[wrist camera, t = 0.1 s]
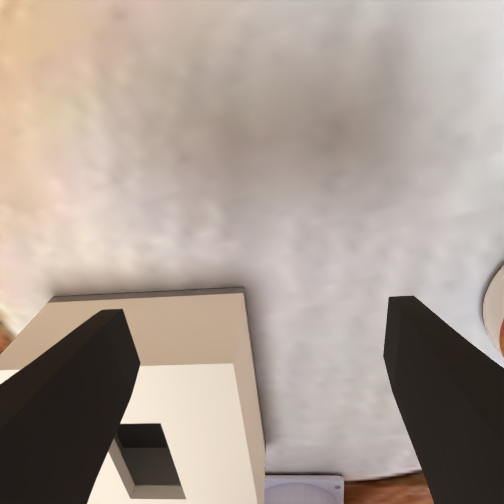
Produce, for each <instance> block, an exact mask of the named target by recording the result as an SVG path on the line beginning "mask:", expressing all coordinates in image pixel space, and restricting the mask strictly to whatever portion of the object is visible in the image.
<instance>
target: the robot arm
mask: <svg viewBox="0 0 504 504" xmlns="http://www.w3.org/2000/svg"><path fill="white" fill-rule="evenodd" d="M383 356H384V360H385V364H386V369H387V373H388V377H389V381H390V384H391V388H392V392H393V395H394V397H395V400H396V403H397V405H398V408H399V411H400V413H401V416H402V419H403V421H404V424H405V426H406V429H407V432H408V434H409V437H410V439H411V442H412V444H413V447H414V450H415V452H416V455H417V457H418V460H419V463H420V465H421V468H422V470H423V473H424V475H425V478H426V481H427V484H428V487H429V489H430V492H431V495H432V498H433V501H434V504H504V368H503V367H501V366H500V365H499V364H497V363H496V362H494V361H493V360H492V359H490V358H489V357H488V356H487V355H485V354H484V353H483V352H481V351H480V350H479V349H477V348H476V347H475V346H474V345H472V344H471V343H470V342H469V341H467V340H466V339H465V338H464V337H462V336H461V335H460V334H459V333H457V332H456V331H455V330H454V329H453V328H451V327H450V326H449V325H448V324H447V323H445V322H444V321H443V320H442V319H441V318H439V317H438V316H437V315H436V314H435V313H433V312H432V311H431V310H430V309H429V308H428V307H426V306H425V305H424V304H423V303H422V302H421V301H419V300H418V299H417V298H416V297H414V296H397V297H389V302H388V312H387V323H386V334H385V344H384V355H383ZM140 363H141V362H140V359H139V356H138V353H137V350H136V347H135V344H134V341H133V338H132V335H131V332H130V329H129V326H128V323H127V320H126V317H125V314H124V311H123V309H105V310H101V311H99V312H98V313H96V314H95V315H93V316H92V317H90V318H89V319H88V320H86V321H85V322H84V323H82V324H81V325H80V326H78V327H77V328H76V329H74V330H73V331H72V332H70V333H69V334H68V335H66V336H65V337H64V338H63V339H61V340H60V341H59V342H57V343H56V344H55V345H53V346H52V347H51V348H49V349H48V350H47V351H45V352H44V353H43V354H41V355H40V356H39V357H38V358H36V359H35V360H34V361H32V362H31V363H29V364H28V365H27V366H25V367H24V368H22V369H21V370H20V371H18V372H17V373H15V374H14V375H13V376H11V377H10V378H8V379H7V380H5V381H4V382H3V383H1V384H0V504H87V503H88V500H89V497H90V494H91V492H92V489H93V486H94V484H95V481H96V479H97V476H98V474H99V472H100V469H101V467H102V465H103V462H104V460H105V458H106V455H107V453H108V451H109V448H110V446H111V444H112V441H113V439H114V437H115V434H116V432H117V430H118V427H119V425H120V423H121V420H122V418H123V416H124V413H125V411H126V408H127V406H128V404H129V401H130V399H131V396H132V392H133V389H134V386H135V382H136V379H137V375H138V371H139V367H140ZM264 504H344V479H343V477H341V476H329V475H265V486H264Z"/></svg>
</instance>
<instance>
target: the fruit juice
mask: <svg viewBox="0 0 504 504" xmlns="http://www.w3.org/2000/svg"><path fill="white" fill-rule="evenodd" d="M483 319H484V324H485V327H486V330H487V333H488V335H489V337H490V339H491V341H492V342H493V344H494V346H495V347H496V349H497V350H498V352H499V353H500V354H501V356H502V357H503V358H504V265H503V266H502V267H501V269H500V270H499V271H498V272H497V274H496V275H495V277H494V278H493V280H492V281H491V283H490V285H489V287H488V289H487V292H486V295H485V298H484V303H483Z"/></svg>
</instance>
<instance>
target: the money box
mask: <svg viewBox="0 0 504 504" xmlns="http://www.w3.org/2000/svg"><path fill="white" fill-rule="evenodd" d="M105 309H123V311H124V314H125V317H126V320H127V323H128V326H129V329H130V332H131V335H132V338H133V341H134V344H135V347H136V350H137V353H138V356H139V359H140V362H141V363H140V367H139V371H138V375H137V379H136V382H135V386H134V389H133V392H132V396H131V399H130V401H129V404H128V406H127V408H126V411H125V413H124V416H123V418H122V420H121V423H120V425H119V427H118V430H117V432H116V434H115V437H114V439H113V441H112V444H111V446H110V448H109V451H108V453H107V455H106V458H105V460H104V462H103V465H102V467H101V469H100V472H99V474H98V476H97V479H96V481H95V484H94V486H93V489H92V492H91V494H90V497H89V500H88V503H87V504H264V486H265V453H266V445H265V437H264V430H263V423H262V415H261V408H260V401H259V393H258V386H257V379H256V371H255V364H254V357H253V349H252V342H251V335H250V327H249V320H248V313H247V305H246V298H245V291H244V287H237V288H218V289H198V290H178V291H159V292H139V293H120V294H100V295H80V296H61V297H52V298H51V300H50V301H49V302H48V303H47V304H46V305H45V306H44V307H43V308H42V309H41V311H40V312H39V313H38V314H37V315H36V316H35V317H34V318H33V319H32V320H31V321H30V323H29V324H28V325H27V326H26V327H25V328H24V329H23V330H22V331H21V332H20V334H19V335H18V336H17V337H16V338H15V339H14V340H13V341H12V342H11V343H10V345H9V346H8V347H7V348H6V349H5V350H4V351H3V352H2V353H1V354H0V384H1V383H3V382H4V381H5V380H7V379H8V378H10V377H11V376H13V375H14V374H15V373H17V372H18V371H20V370H21V369H22V368H24V367H25V366H27V365H28V364H29V363H31V362H32V361H34V360H35V359H36V358H38V357H39V356H40V355H41V354H43V353H44V352H45V351H47V350H48V349H49V348H51V347H52V346H53V345H55V344H56V343H57V342H59V341H60V340H61V339H63V338H64V337H65V336H66V335H68V334H69V333H70V332H72V331H73V330H74V329H76V328H77V327H78V326H80V325H81V324H82V323H84V322H85V321H86V320H88V319H89V318H90V317H92V316H93V315H95V314H96V313H98V312H99V311H101V310H105Z"/></svg>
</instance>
